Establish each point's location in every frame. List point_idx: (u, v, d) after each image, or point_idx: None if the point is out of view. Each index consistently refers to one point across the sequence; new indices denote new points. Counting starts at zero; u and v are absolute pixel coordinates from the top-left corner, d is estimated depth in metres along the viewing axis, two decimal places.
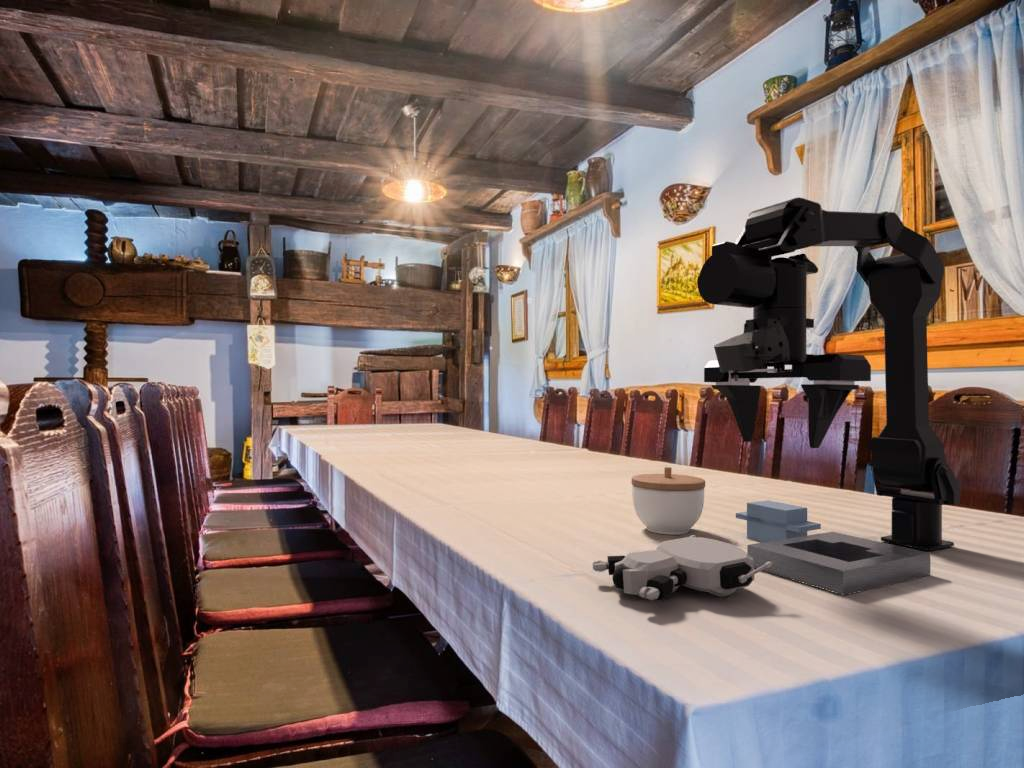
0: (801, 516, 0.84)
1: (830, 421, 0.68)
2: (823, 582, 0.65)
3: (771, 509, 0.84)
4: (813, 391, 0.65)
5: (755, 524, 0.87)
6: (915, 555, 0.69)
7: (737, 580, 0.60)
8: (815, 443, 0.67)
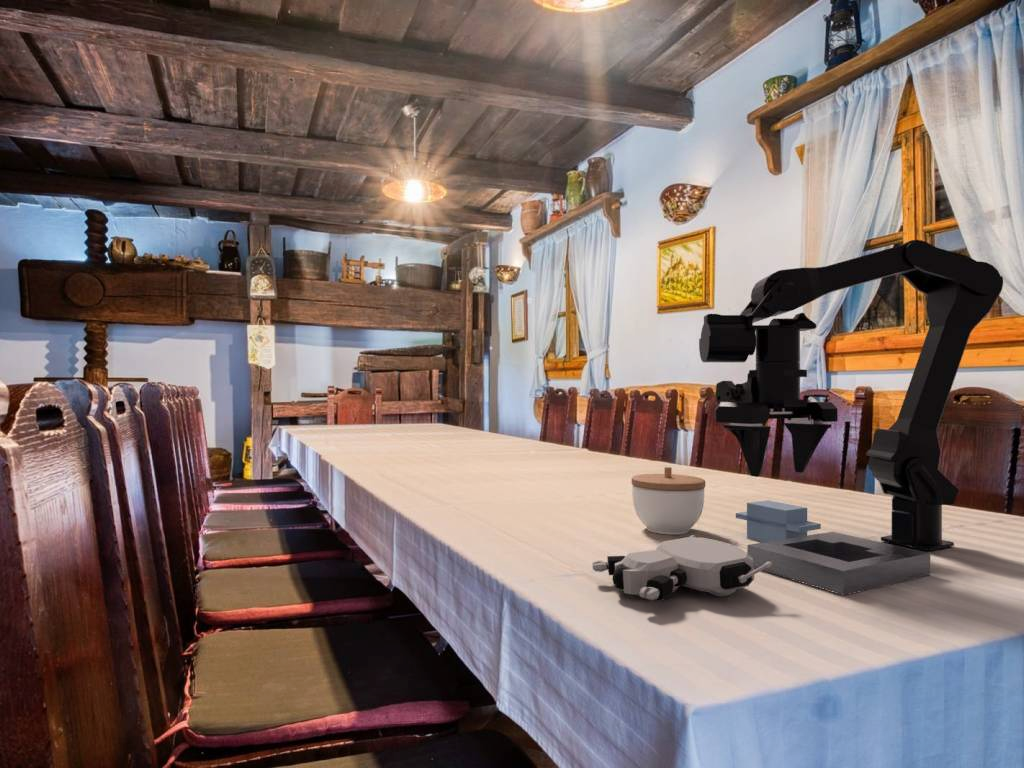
0: (801, 516, 0.84)
1: (757, 455, 0.83)
2: (823, 582, 0.65)
3: (771, 509, 0.84)
4: None
5: (755, 524, 0.87)
6: (915, 555, 0.69)
7: (737, 580, 0.60)
8: (751, 472, 0.84)
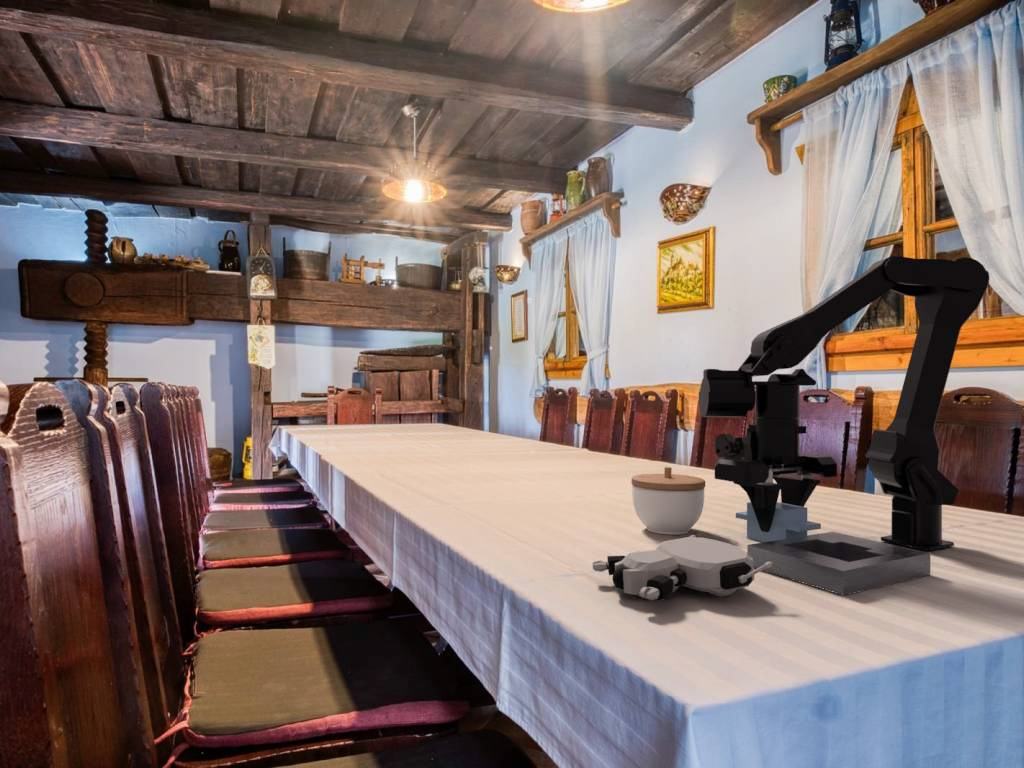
0: (801, 516, 0.84)
1: (767, 512, 0.84)
2: (823, 582, 0.65)
3: None
4: None
5: (755, 524, 0.87)
6: (915, 555, 0.69)
7: (737, 580, 0.60)
8: (761, 527, 0.85)
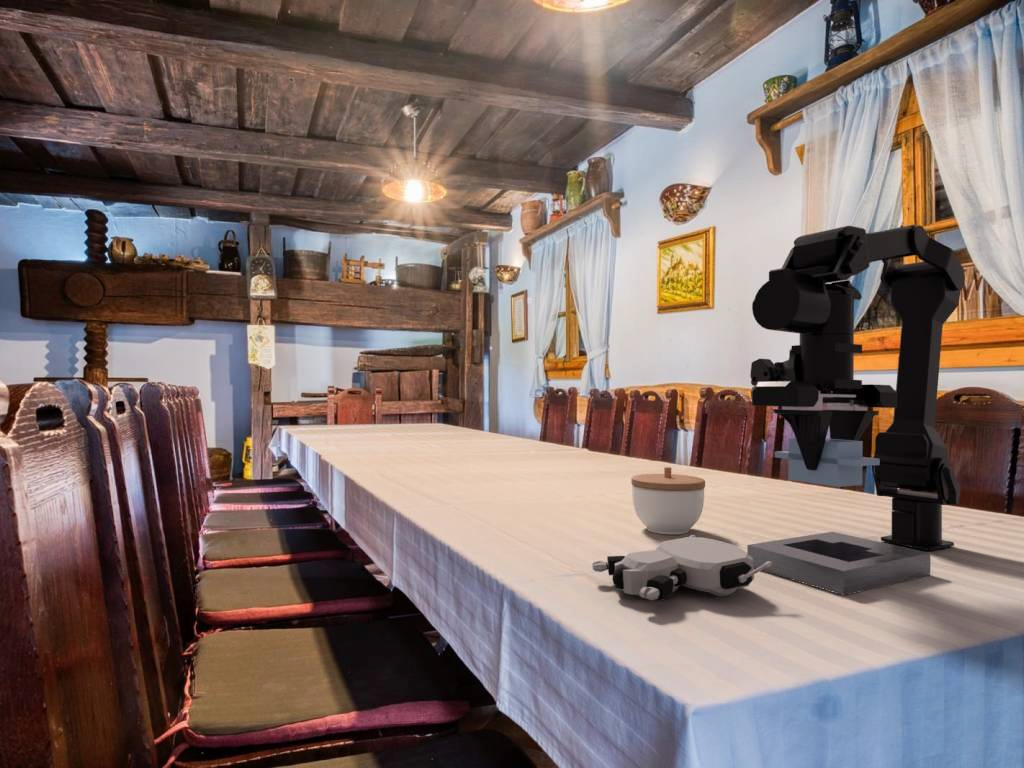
0: (855, 451, 0.70)
1: (815, 445, 0.70)
2: (823, 582, 0.65)
3: None
4: None
5: (799, 462, 0.73)
6: (915, 555, 0.69)
7: (737, 580, 0.60)
8: (807, 465, 0.72)
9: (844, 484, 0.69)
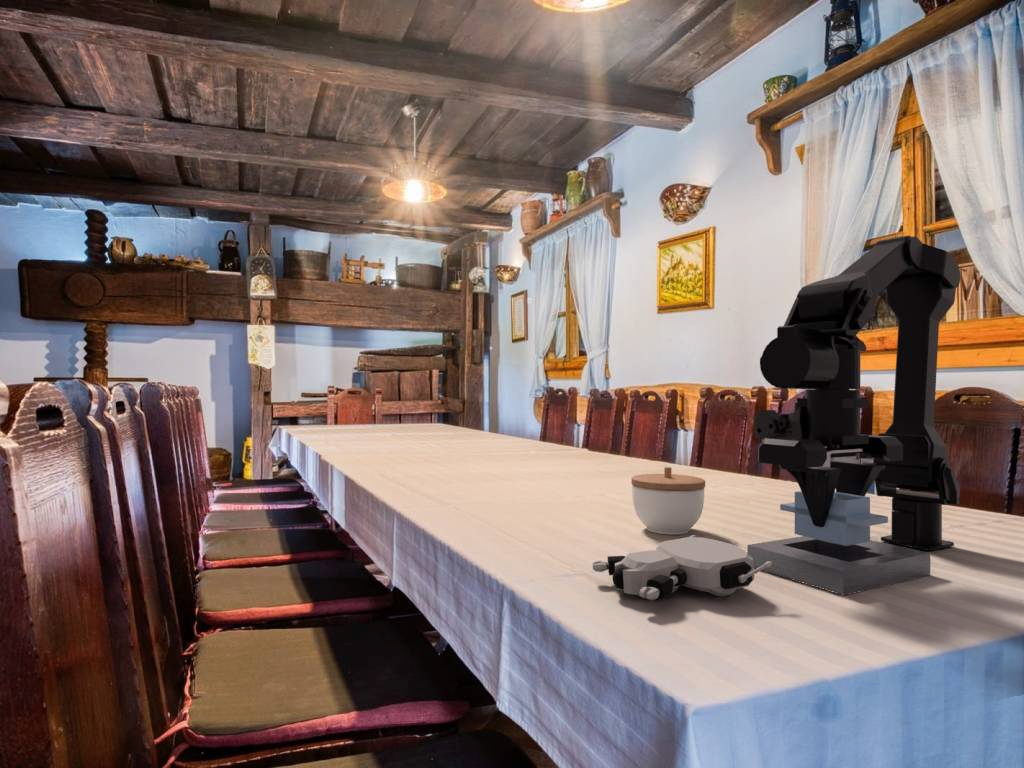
0: (863, 508, 0.69)
1: (822, 503, 0.69)
2: (823, 582, 0.65)
3: None
4: None
5: (805, 517, 0.72)
6: (915, 555, 0.69)
7: (737, 580, 0.60)
8: (814, 521, 0.71)
9: (852, 542, 0.68)
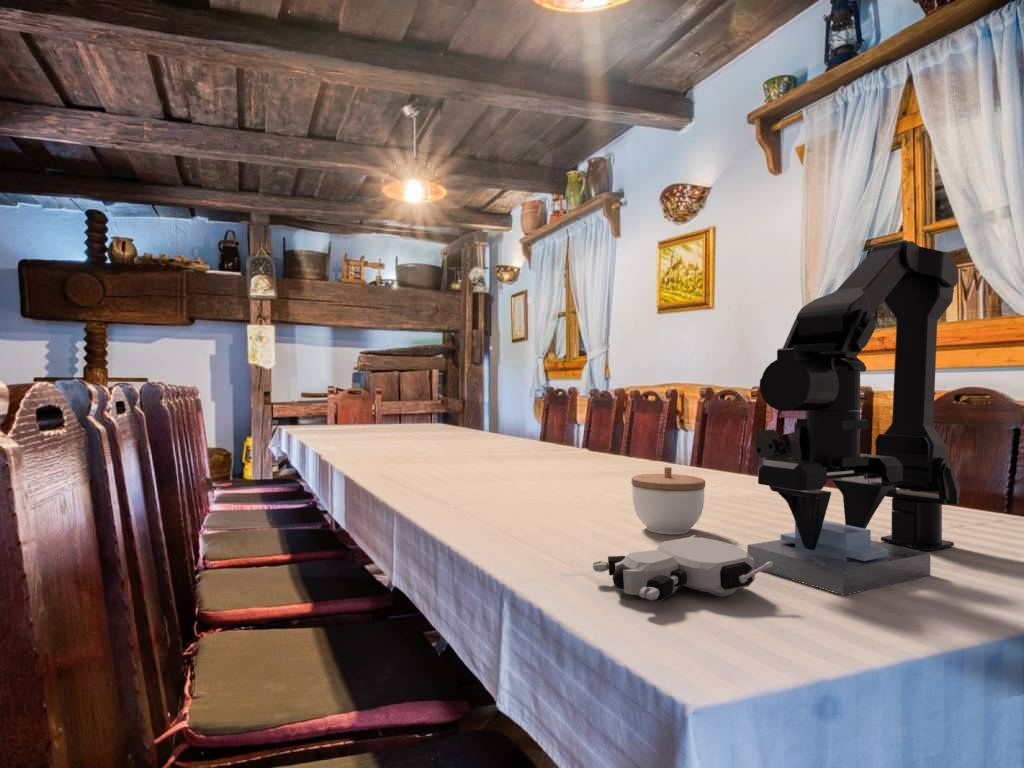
0: (863, 541, 0.69)
1: (813, 526, 0.68)
2: (823, 582, 0.65)
3: (827, 531, 0.70)
4: None
5: (806, 549, 0.72)
6: (915, 555, 0.69)
7: (737, 580, 0.60)
8: (805, 544, 0.70)
9: None
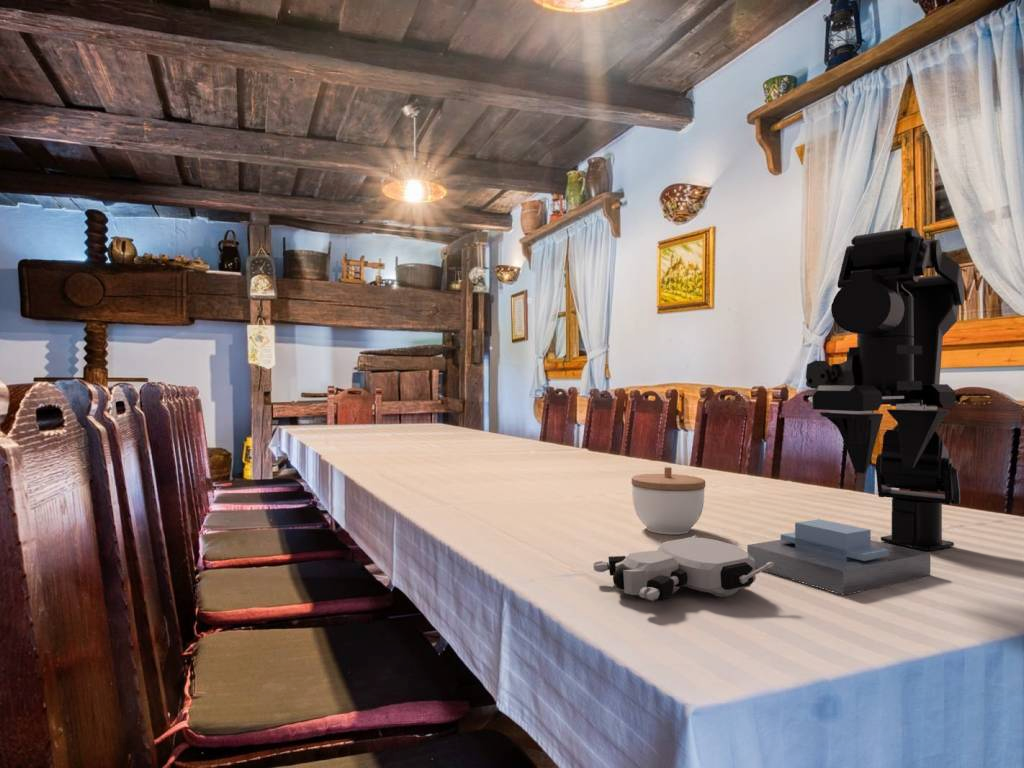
0: (863, 541, 0.69)
1: (864, 449, 0.69)
2: (823, 582, 0.65)
3: (827, 531, 0.70)
4: None
5: (806, 549, 0.72)
6: (915, 555, 0.69)
7: (738, 580, 0.59)
8: (856, 468, 0.71)
9: None
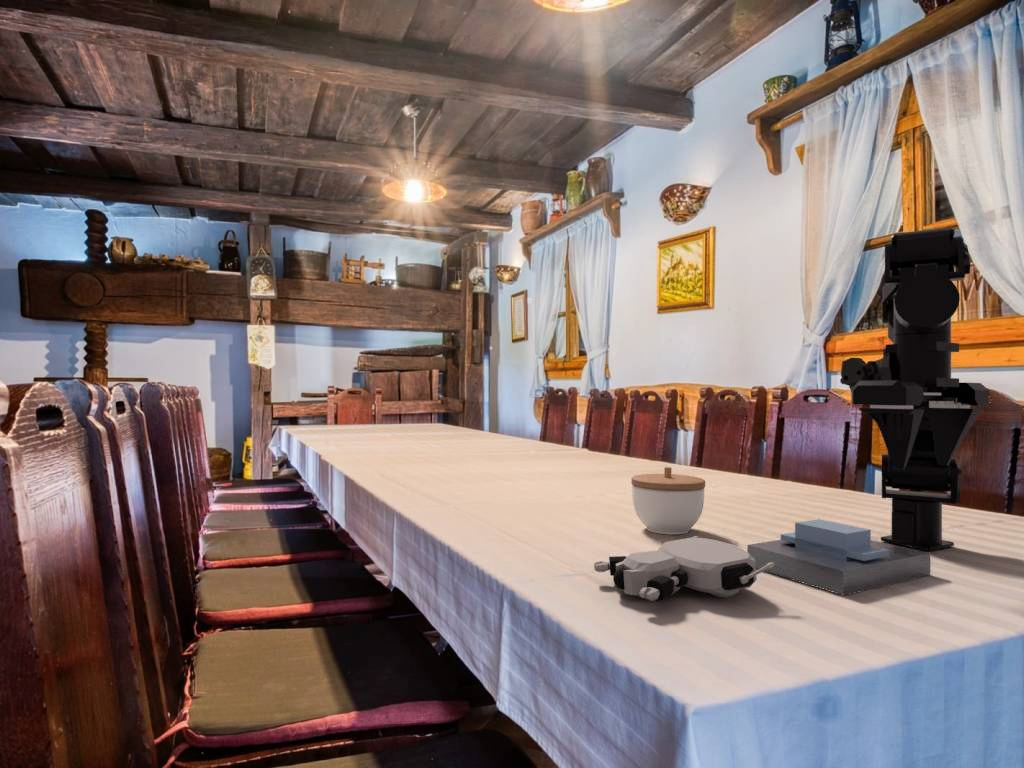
0: (863, 541, 0.69)
1: (904, 444, 0.70)
2: (823, 582, 0.65)
3: (827, 531, 0.70)
4: None
5: (806, 549, 0.72)
6: (915, 555, 0.69)
7: (738, 581, 0.59)
8: (895, 463, 0.71)
9: None
